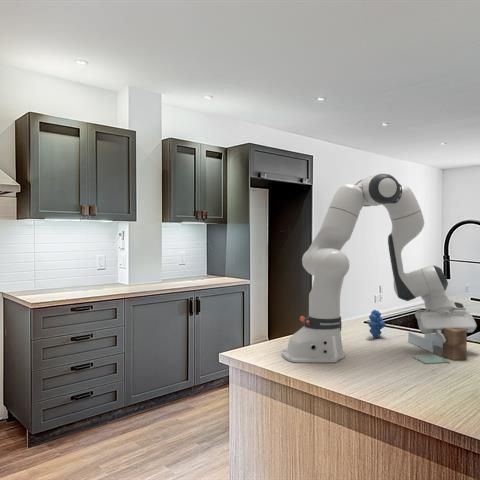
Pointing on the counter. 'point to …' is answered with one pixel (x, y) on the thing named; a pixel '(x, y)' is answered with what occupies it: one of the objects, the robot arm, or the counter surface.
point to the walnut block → (455, 343)
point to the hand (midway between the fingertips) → (454, 342)
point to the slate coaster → (430, 359)
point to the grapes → (376, 323)
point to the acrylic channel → (425, 341)
